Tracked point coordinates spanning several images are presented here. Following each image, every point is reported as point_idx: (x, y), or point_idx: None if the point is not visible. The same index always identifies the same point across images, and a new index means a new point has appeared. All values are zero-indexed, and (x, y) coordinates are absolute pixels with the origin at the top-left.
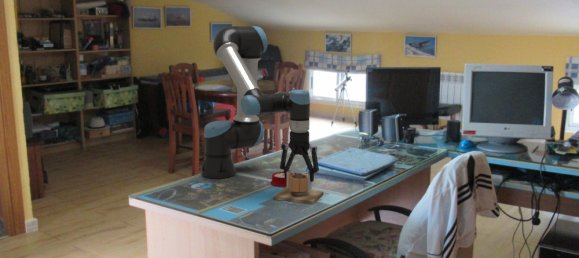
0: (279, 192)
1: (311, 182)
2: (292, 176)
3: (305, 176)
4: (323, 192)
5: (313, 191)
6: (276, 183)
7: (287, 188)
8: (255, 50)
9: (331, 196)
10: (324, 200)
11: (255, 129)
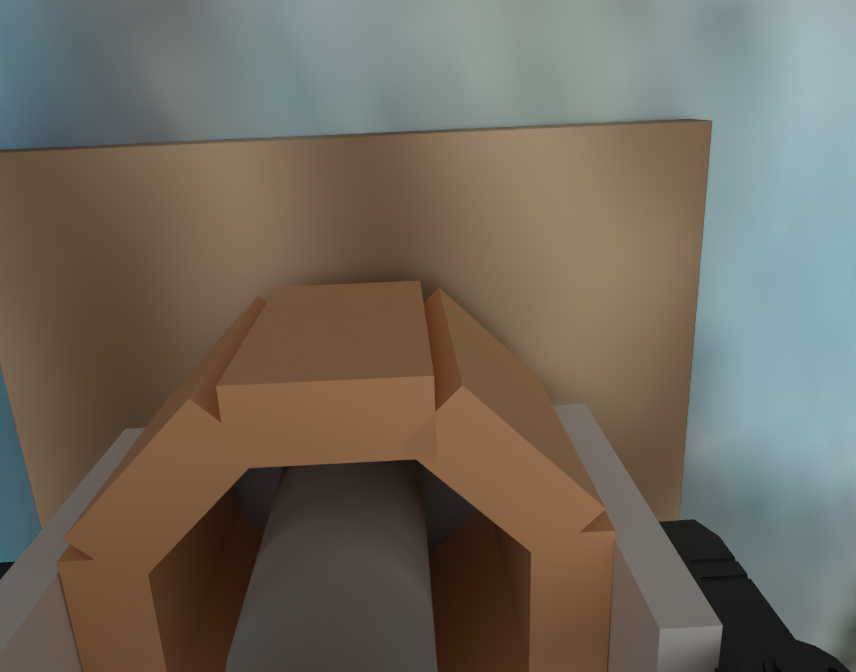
0: (48, 487)
1: (621, 472)
2: (167, 646)
3: (467, 490)
4: (705, 122)
5: (540, 199)
6: None
7: (33, 231)
8: None
9: (837, 162)
10: (767, 388)
11: None
